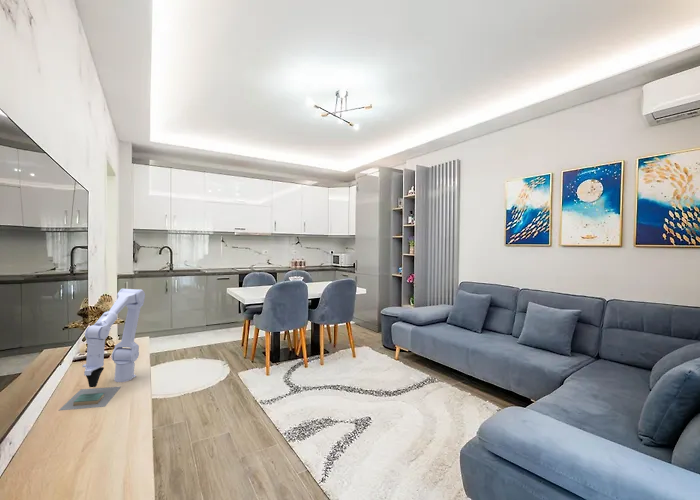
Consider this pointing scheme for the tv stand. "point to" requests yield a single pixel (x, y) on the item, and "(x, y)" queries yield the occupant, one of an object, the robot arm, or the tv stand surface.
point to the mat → (104, 401)
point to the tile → (88, 399)
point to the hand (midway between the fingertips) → (93, 386)
